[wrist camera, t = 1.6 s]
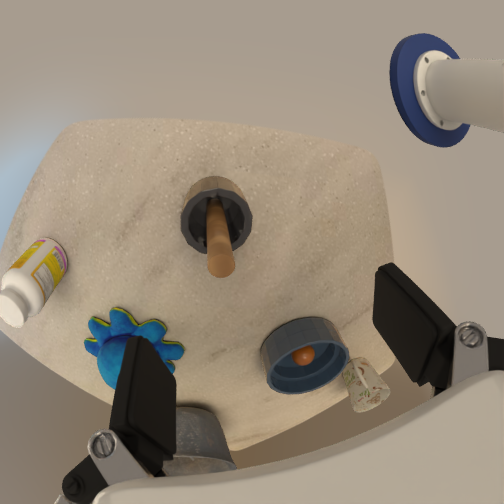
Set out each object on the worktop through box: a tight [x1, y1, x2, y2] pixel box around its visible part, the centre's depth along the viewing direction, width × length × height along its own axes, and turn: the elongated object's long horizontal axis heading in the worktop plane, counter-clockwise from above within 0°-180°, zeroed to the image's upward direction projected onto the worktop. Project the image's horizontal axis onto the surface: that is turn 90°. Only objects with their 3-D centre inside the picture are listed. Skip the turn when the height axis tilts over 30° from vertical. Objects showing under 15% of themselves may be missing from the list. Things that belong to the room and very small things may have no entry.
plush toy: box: [84, 307, 185, 389], centre depth 37 cm, size 17×17×8 cm
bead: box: [291, 345, 315, 366], centre depth 44 cm, size 4×4×4 cm
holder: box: [181, 176, 252, 254], centre depth 30 cm, size 7×7×6 cm
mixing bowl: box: [261, 317, 349, 394], centre depth 44 cm, size 14×14×6 cm
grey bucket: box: [163, 407, 237, 477], centre depth 46 cm, size 18×18×15 cm
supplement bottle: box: [0, 238, 67, 328], centre depth 26 cm, size 7×7×13 cm
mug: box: [342, 358, 390, 412], centre depth 48 cm, size 8×13×10 cm, turn 32°
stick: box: [206, 199, 235, 278], centre depth 26 cm, size 2×2×14 cm
